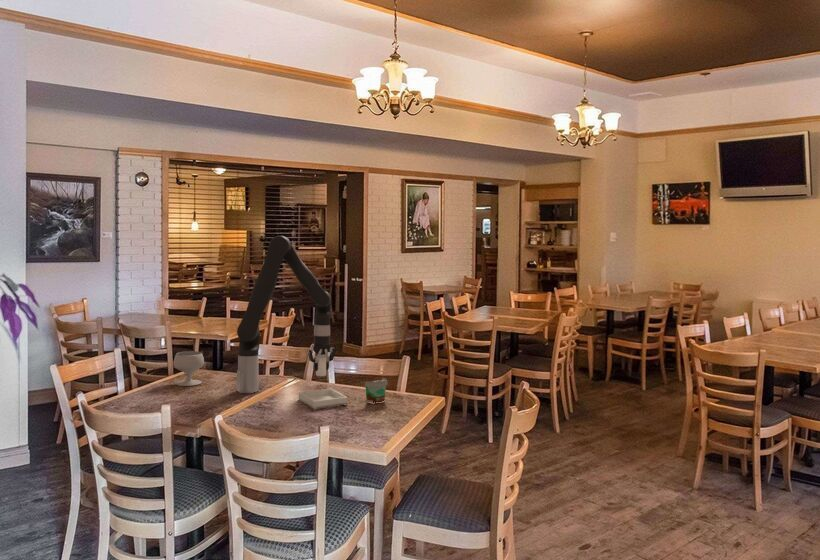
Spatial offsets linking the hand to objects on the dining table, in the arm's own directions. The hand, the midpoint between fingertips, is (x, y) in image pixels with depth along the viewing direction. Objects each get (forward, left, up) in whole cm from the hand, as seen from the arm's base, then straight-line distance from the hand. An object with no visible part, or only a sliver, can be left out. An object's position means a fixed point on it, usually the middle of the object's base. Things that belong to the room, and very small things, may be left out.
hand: (321, 370), depth 301 cm
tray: (-7, -18, -10) cm, 22 cm away
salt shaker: (0, 0, -2) cm, 2 cm away
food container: (+15, -29, -11) cm, 35 cm away
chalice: (-51, +43, -11) cm, 67 cm away
